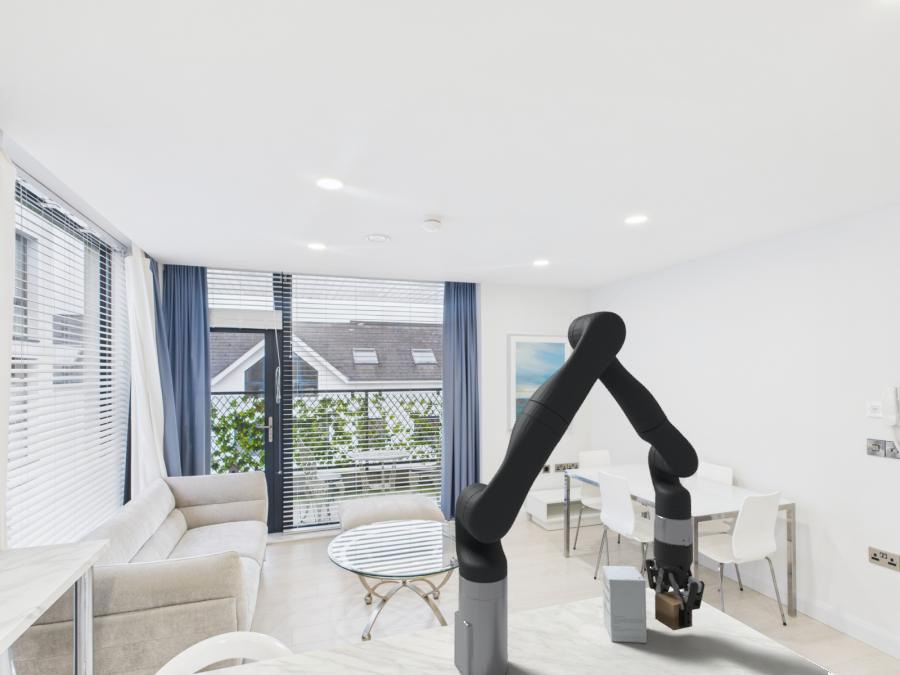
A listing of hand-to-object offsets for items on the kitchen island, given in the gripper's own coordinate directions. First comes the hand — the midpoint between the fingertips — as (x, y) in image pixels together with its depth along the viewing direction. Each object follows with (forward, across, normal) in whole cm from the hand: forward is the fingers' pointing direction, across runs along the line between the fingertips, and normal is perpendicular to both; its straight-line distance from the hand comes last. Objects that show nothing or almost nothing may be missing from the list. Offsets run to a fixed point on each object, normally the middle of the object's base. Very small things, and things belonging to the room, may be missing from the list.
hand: (673, 619), depth 103 cm
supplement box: (+4, -5, -9) cm, 11 cm away
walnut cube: (+1, 0, 0) cm, 1 cm away
